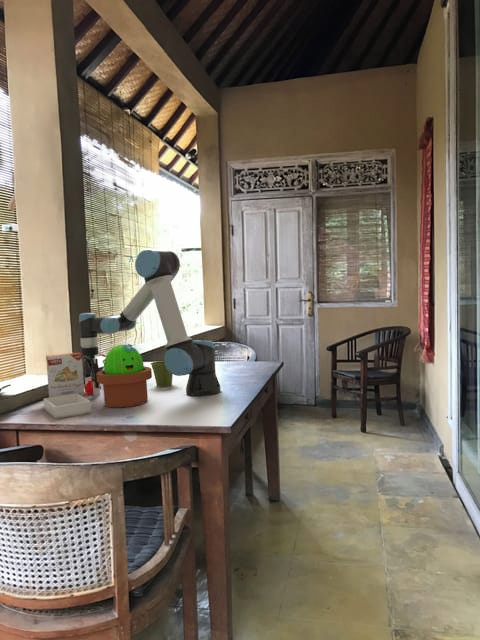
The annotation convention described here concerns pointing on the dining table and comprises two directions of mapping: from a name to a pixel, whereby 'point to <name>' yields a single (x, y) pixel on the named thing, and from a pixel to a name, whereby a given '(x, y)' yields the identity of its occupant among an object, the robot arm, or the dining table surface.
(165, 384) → the plant pot
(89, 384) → the apple
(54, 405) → the box
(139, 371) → the potted cactus
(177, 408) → the dining table surface
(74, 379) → the cracker box
